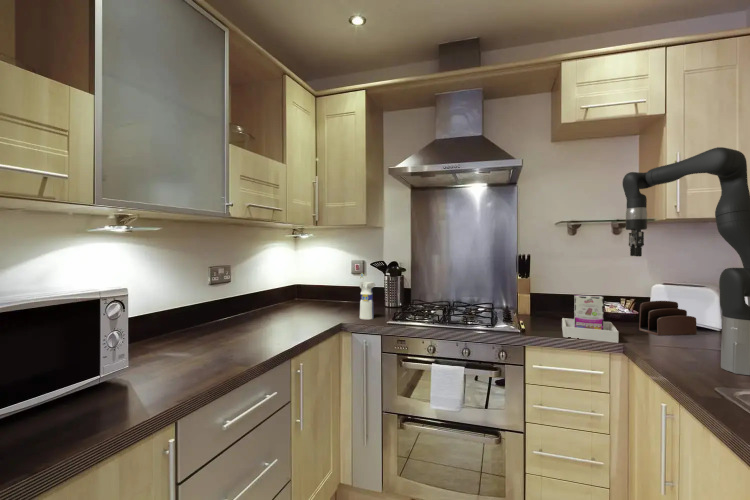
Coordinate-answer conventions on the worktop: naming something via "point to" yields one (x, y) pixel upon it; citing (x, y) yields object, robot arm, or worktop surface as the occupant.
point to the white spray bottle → (366, 299)
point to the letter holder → (665, 319)
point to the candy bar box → (588, 312)
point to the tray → (590, 331)
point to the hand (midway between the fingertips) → (635, 256)
